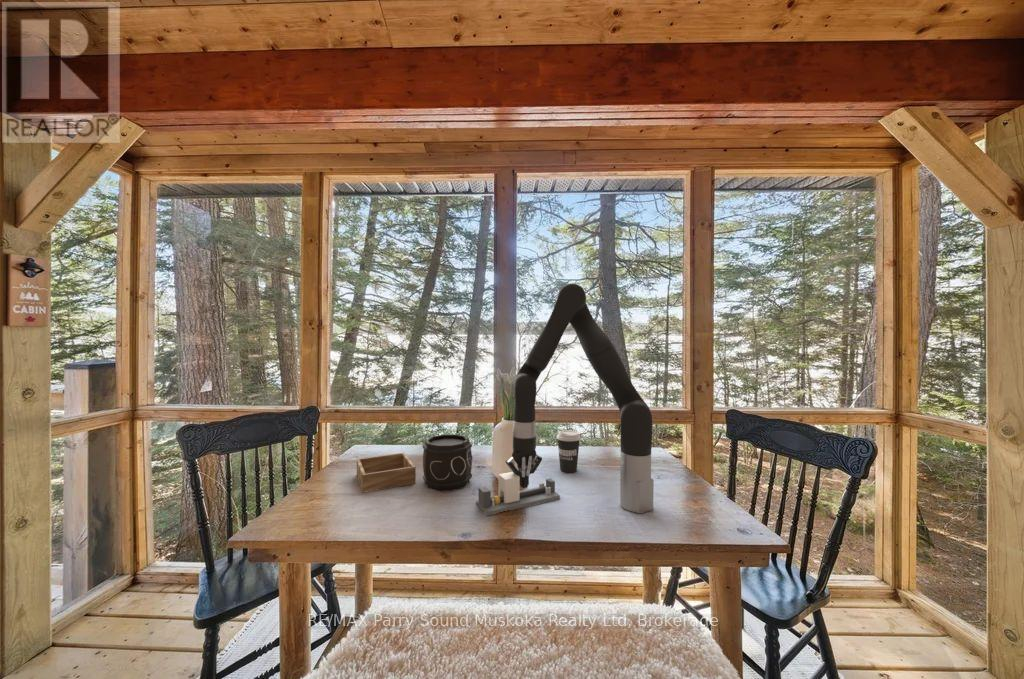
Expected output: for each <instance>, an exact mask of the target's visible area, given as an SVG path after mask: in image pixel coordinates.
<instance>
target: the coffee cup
mask: <svg viewBox="0 0 1024 679" xmlns="http://www.w3.org/2000/svg"><path fill="white" fill-rule="evenodd" d="M556 439H557V445H558V448H557V449H558V459H559V471H560V472H561V473H565V474H575V473H576V472H577V471H578V459H579V450H580V448H579V447H580V440H581V439H582V438H581V435H580V433H579V432H578V431H577V430H569V429H568V430H567V429H565V430H560V431H558V433H557V435H556Z"/></svg>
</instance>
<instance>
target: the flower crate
mask: <svg viewBox="0 0 1024 679" xmlns="http://www.w3.org/2000/svg"><path fill="white" fill-rule="evenodd" d="M416 473H417V472H416V466H415V464H414V463H413V461H412V460H411V459H410V458H409V457H408V455H407V454H406V453H405V452H397V453H391V454H390V453H389V454H385V455H383V454H382V455H377V456H369V457H363V458H357V459H356V477H357V479H358V483H359V486H360V485H361V486H360V488H362V489H361V492H362V491H363V492H364V493H366V492H365V491H369V492H371V491H370V490H375V491H377V490H376V489H381V490H384V489H383V488H386V489H390V487H392V488H396V486H398V487H402V485H403V486H409V485H414V484H416V482H417V481H416V476H417V474H416ZM363 492H362V493H363Z"/></svg>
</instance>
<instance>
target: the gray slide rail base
mask: <svg viewBox="0 0 1024 679" xmlns="http://www.w3.org/2000/svg"><path fill="white" fill-rule="evenodd" d="M477 490H478V492H477V493H478V494H477V496H478V499H477V500H475V505H476V506H477V507H479V509H480V510H481V511H482V512H483V513H484V512H485V513H486V514H487V515H489V516H492V515H491V514H493V515H495V514H494V513H497V514H499V513H498V512H502V513H504V512H503V511H506V512H508V511H507V510H510V511H515V510H518V509H521V508H527V507H531V506H532V507H533V506H536V505H539V504H543V503H549V502H552V501H556V500H560V499H561V495H560V494H558V493H557V492H556V481H555V480H553V479H552V478H546V480H545V482H541V483H540V482H539V483H538V486H537V487H533V488H528V489H527V488H526V489H524V490H520V500H519V501H515V502H510V503H506V504H505V503H504V496H500V497H499V494H498V495H493V496H492V495H491V494H492V493H491V492H492V491H491V490H490V489H489V488H488V487H487V486H486V485H485V486H480V487H478V488H477ZM485 513H484V514H485ZM486 514H485V515H486ZM487 515H486V516H487Z"/></svg>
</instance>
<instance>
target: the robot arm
mask: <svg viewBox="0 0 1024 679" xmlns="http://www.w3.org/2000/svg"><path fill="white" fill-rule="evenodd" d="M569 324H570V325H571V327H572V328H573V329H574V330H573V331H574V332H575V334H576V336H577V339H578V340H579V344H580V346H581V348H582V350H583V352H584V354H585V357H586V358H587V360H588V361H589V364H590V365H591V367H592V369H593V370H594V372H595V373H596V375H597V377H599V379H600V380H601V382H602V383H603V384H604V385H605V386H606V388H607V389H608V390H609V391H610V393H611V395H612V397H613V399H614V401H615V403H616V405H617V407H618V410H619V412H620V439H619V440H620V443H619V444H620V468H619V469H620V471H619V472H620V473H619V474H620V477H619V478H620V479H619V482H620V483H619V484H620V486H619V488H620V489H619V494H620V495H619V496H620V497H619V498H620V499H619V501H620V502H619V505H620V506H621V508H622V509H624V510H627V511H629V512H632V513H633V512H634V513H636V514H643V513H646V512H647V513H648V512H650V511H653V510H654V489H655V488H654V479H653V478H652V445H653V415H652V412H651V409H650V407H649V405H648V404H647V403H646V402H645V400H644V399H643V398H642V396H641V395H640V393H639V391H637V389H636V388H635V386H634V384H633V383H632V381H631V379H630V376H629V374H628V371H627V369H626V367H625V365H624V363H623V360H622V358H621V356H620V355H619V352H618V351H617V349H616V347H615V346H614V344H613V342H612V341H611V339H610V337H609V336H607V334H606V332H604V330H603V329H602V328H601V327H600V326H599V324H597V322H596V321H595V319H594V318H593V315H592V313H591V311H590V309H589V306H588V304H587V294H586V292H585V290H584V288H583V287H582V286H581V285H579V284H577V283H567V284H565V285H564V286H562V287H561V288H560V290H559V291H558V293H557V297H556V300H555V303H554V307H553V309H552V312H551V314H550V316H549V318H548V320H547V322H546V323H545V326H544V328H543V329H542V331H541V333H540V334H539V336H538V337H537V338H536V341H535V342H534V344H533V346H532V348H531V349H530V350H529V354H527V357H526V359H525V361H524V363H523V364H522V366H520V368H519V370H518V372H517V373H516V375H515V377H514V379H513V387H514V405H513V406H514V407H513V425H512V453H511V457H510V458H509V459H506V460H505V464H506V465H507V467H509V469H510V470H511V472H513V473H515V474H516V475H517V476H519V477H520V488H522V489H527V488H528V486H529V483H530V475H531V474H534V473H535V472H536V470H537V469H538V467H539V465H540V464H541V462H542V460H543V458H542V457H541V456H540V455H538V454H537V451H536V448H537V426H536V400H537V399H536V397H537V381H538V379H539V377H540V376H541V373H542V372H543V371H545V370H546V369H547V367H548V365H549V363H550V362H551V360H552V357H553V356H554V354H555V352H556V349H557V348H558V346H559V344H560V342H561V339H562V337H563V335H564V334H565V331H566V329H567V328H568V326H569ZM515 464H516V465H515ZM516 466H517V467H516Z"/></svg>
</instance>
